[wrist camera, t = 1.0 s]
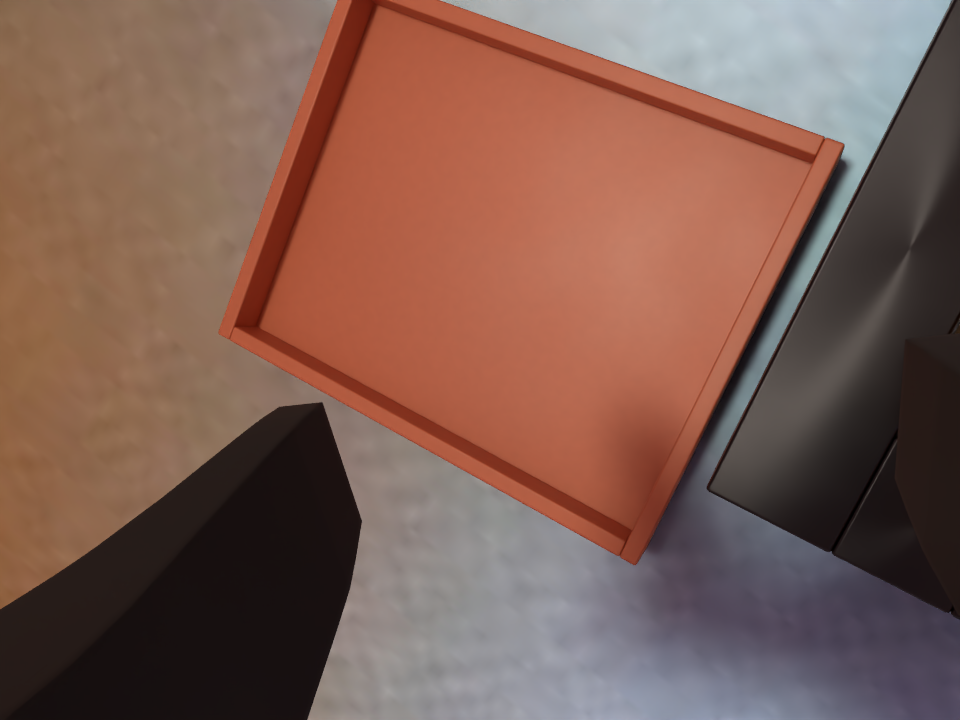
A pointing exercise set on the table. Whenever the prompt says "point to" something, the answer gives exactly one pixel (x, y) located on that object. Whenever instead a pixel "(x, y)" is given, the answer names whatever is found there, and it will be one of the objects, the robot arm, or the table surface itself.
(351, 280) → the red tray
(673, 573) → the table surface
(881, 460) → the toaster
